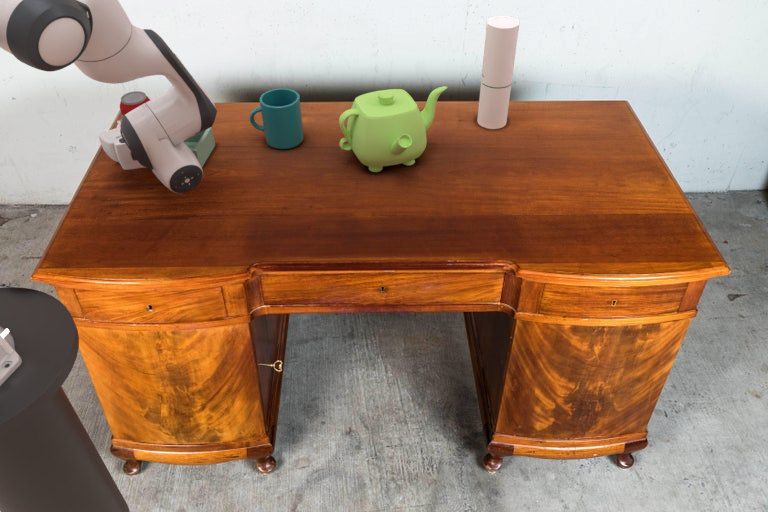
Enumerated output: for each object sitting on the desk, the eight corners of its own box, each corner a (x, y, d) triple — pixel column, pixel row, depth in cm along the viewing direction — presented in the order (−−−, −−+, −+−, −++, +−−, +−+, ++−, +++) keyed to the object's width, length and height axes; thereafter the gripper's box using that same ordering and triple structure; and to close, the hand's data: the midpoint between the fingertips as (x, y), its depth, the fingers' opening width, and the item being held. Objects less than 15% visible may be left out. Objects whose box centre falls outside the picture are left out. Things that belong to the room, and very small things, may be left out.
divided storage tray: (200, 169, 147) (196, 150, 144) (119, 163, 149) (112, 144, 146) (215, 145, 155) (211, 126, 151) (137, 139, 157) (132, 121, 153)
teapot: (358, 198, 139) (355, 133, 128) (331, 146, 154) (327, 84, 143) (467, 175, 144) (473, 111, 134) (430, 127, 160) (433, 66, 149)
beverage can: (127, 144, 151) (111, 96, 143) (153, 133, 154) (140, 86, 146) (140, 155, 147) (126, 108, 139) (167, 144, 151) (154, 97, 143)
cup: (255, 131, 159) (248, 88, 152) (305, 129, 159) (300, 87, 152) (251, 151, 152) (244, 108, 145) (303, 150, 153) (298, 106, 145)
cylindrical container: (501, 112, 164) (513, 14, 148) (510, 127, 159) (523, 27, 143) (473, 115, 164) (482, 16, 147) (481, 130, 158) (492, 29, 142)
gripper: (203, 117, 141) (179, 91, 149) (107, 146, 132) (88, 118, 141) (208, 142, 145) (185, 116, 153) (116, 172, 136) (97, 143, 145)
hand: (138, 117), depth 147 cm, fingers closed on beverage can, 7 cm apart
